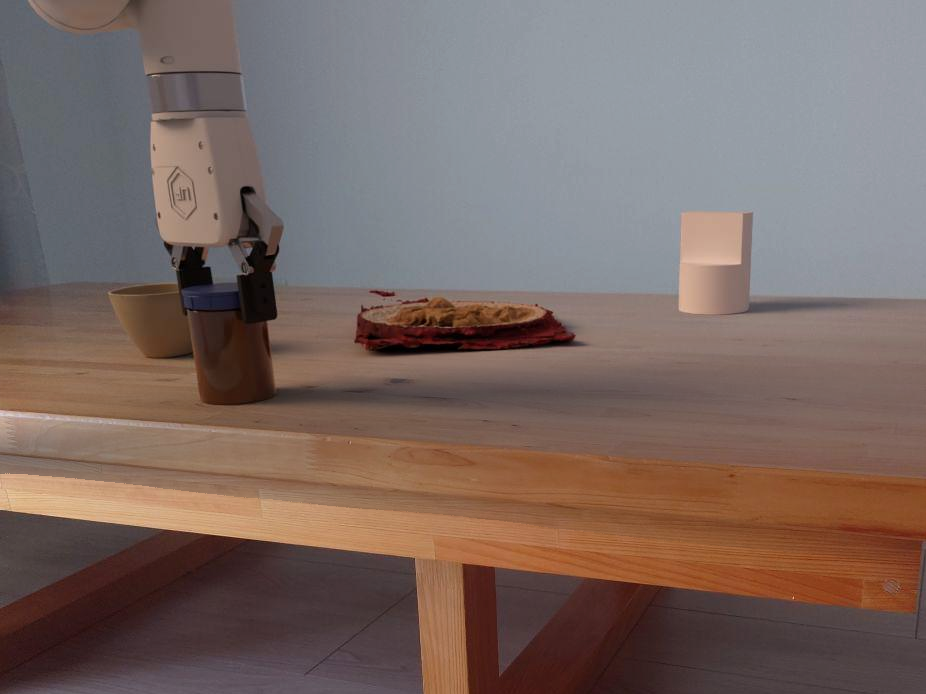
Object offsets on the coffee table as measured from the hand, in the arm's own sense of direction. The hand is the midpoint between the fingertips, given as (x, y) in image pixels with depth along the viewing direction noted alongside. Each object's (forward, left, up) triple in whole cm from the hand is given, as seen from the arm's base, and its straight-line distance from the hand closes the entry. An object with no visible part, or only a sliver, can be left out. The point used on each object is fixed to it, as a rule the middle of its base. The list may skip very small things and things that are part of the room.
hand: (229, 316), depth 88 cm
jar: (0, 0, -7) cm, 7 cm away
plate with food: (+34, +12, -7) cm, 37 cm away
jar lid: (0, 0, +2) cm, 2 cm away
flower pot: (+4, +26, -7) cm, 27 cm away
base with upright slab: (+66, 0, -7) cm, 66 cm away
